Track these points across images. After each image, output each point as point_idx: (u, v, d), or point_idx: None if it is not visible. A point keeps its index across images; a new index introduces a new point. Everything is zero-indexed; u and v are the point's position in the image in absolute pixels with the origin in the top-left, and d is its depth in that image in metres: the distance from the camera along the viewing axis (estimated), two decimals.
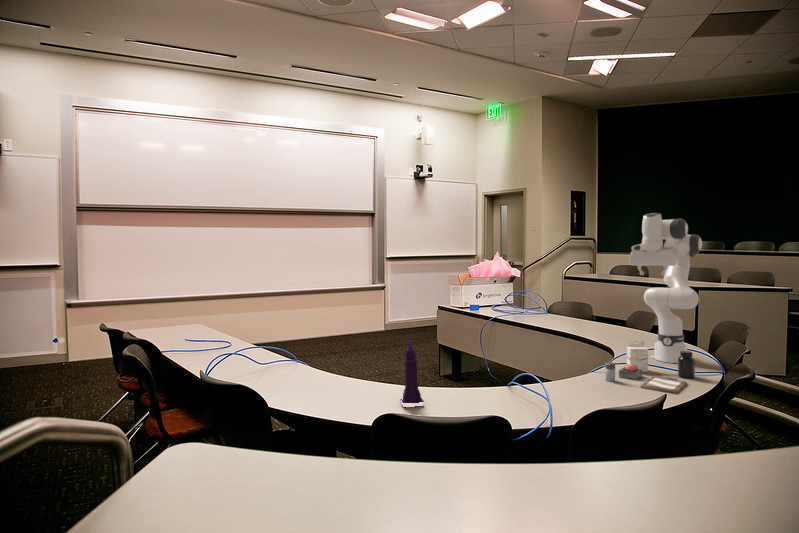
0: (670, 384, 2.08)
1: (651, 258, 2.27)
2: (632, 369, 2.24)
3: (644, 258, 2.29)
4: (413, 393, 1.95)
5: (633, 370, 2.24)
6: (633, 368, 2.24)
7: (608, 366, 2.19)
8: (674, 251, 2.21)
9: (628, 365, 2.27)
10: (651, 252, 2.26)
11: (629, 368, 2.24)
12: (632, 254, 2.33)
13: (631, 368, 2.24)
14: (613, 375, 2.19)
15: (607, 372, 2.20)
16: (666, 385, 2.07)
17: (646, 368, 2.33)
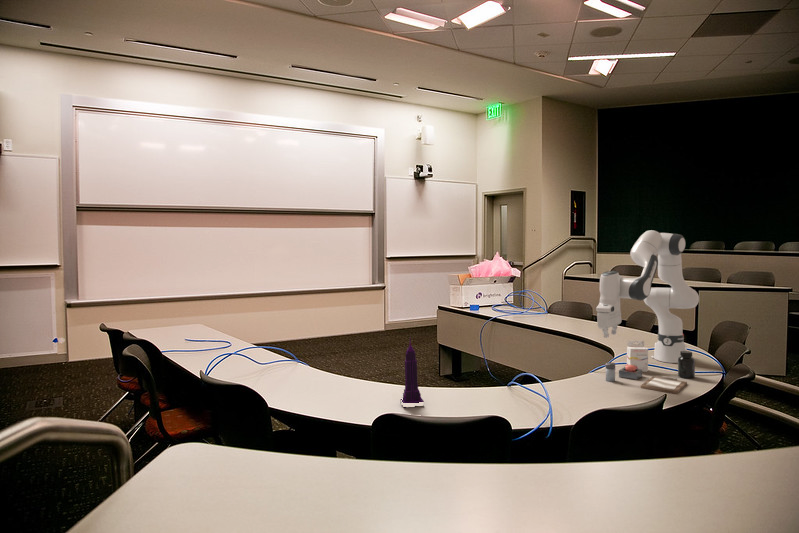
0: (670, 384, 2.08)
1: (614, 318, 2.18)
2: (632, 369, 2.24)
3: (611, 319, 2.16)
4: (413, 393, 1.95)
5: (633, 370, 2.24)
6: (633, 368, 2.24)
7: (608, 366, 2.19)
8: None
9: (628, 365, 2.27)
10: (617, 312, 2.17)
11: (629, 368, 2.24)
12: (608, 316, 2.12)
13: (631, 368, 2.24)
14: (613, 375, 2.19)
15: (607, 372, 2.20)
16: (666, 385, 2.07)
17: (646, 368, 2.33)
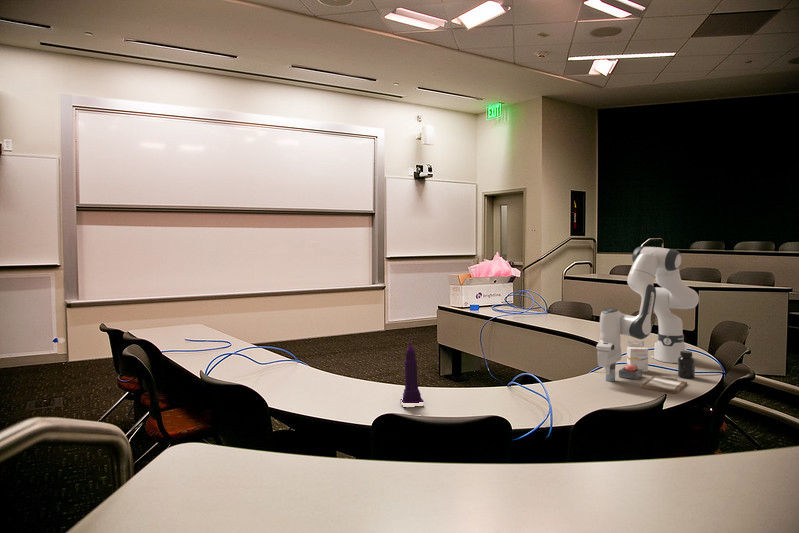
0: (670, 384, 2.08)
1: (614, 355, 2.19)
2: (632, 369, 2.24)
3: (611, 357, 2.17)
4: (413, 393, 1.95)
5: (633, 370, 2.24)
6: (633, 368, 2.24)
7: None
8: None
9: (628, 365, 2.27)
10: (617, 350, 2.18)
11: (629, 368, 2.24)
12: (608, 355, 2.13)
13: (631, 368, 2.24)
14: (613, 375, 2.19)
15: None
16: (666, 385, 2.07)
17: (646, 368, 2.33)
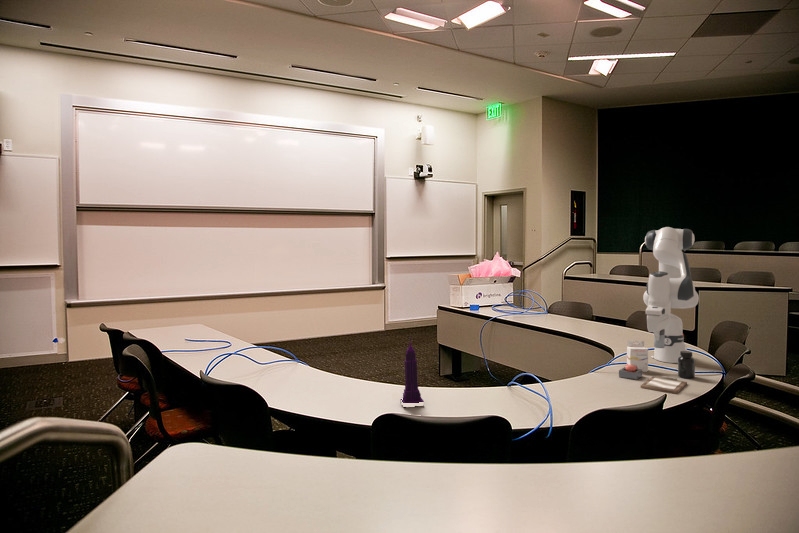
0: (670, 384, 2.08)
1: (663, 320, 2.09)
2: (632, 369, 2.24)
3: (661, 322, 2.07)
4: (413, 393, 1.95)
5: (633, 370, 2.24)
6: (633, 368, 2.24)
7: None
8: None
9: (628, 365, 2.27)
10: (667, 314, 2.08)
11: (629, 368, 2.24)
12: (659, 319, 2.02)
13: (631, 368, 2.24)
14: (662, 341, 2.09)
15: None
16: (666, 385, 2.07)
17: (646, 368, 2.33)
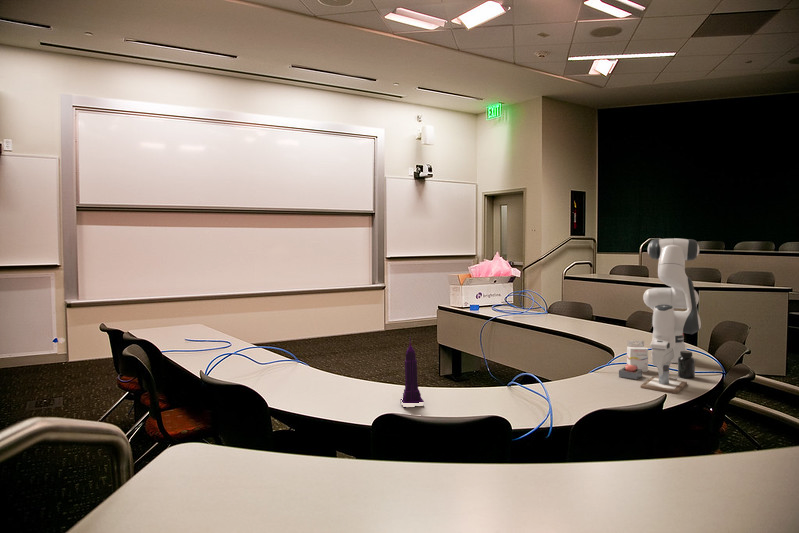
0: (670, 384, 2.08)
1: (668, 354, 2.09)
2: (632, 369, 2.24)
3: (666, 356, 2.07)
4: (413, 393, 1.95)
5: (633, 370, 2.24)
6: (633, 368, 2.24)
7: None
8: None
9: (628, 365, 2.27)
10: (671, 348, 2.08)
11: (629, 368, 2.24)
12: (664, 354, 2.02)
13: (631, 368, 2.24)
14: (667, 377, 2.08)
15: None
16: (666, 385, 2.07)
17: (646, 368, 2.33)
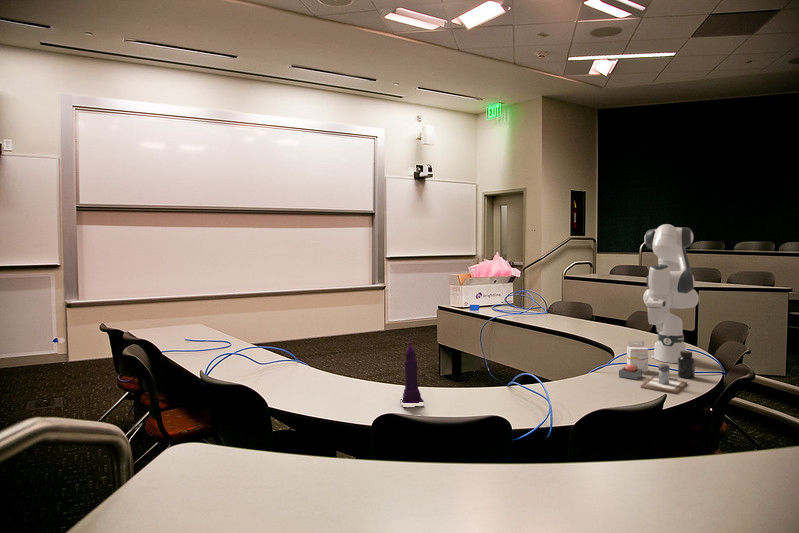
0: (670, 384, 2.08)
1: (664, 313, 2.10)
2: (632, 369, 2.24)
3: (661, 314, 2.08)
4: (413, 393, 1.95)
5: (633, 370, 2.24)
6: (633, 368, 2.24)
7: (662, 368, 2.09)
8: None
9: (628, 365, 2.27)
10: (667, 307, 2.09)
11: (629, 368, 2.24)
12: (660, 312, 2.03)
13: (631, 368, 2.24)
14: (667, 378, 2.08)
15: (660, 374, 2.09)
16: (666, 385, 2.07)
17: (646, 368, 2.33)
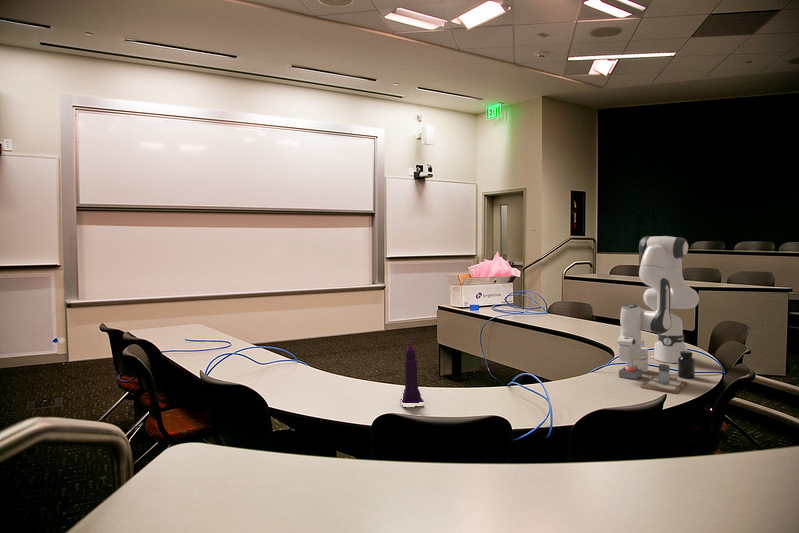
0: (670, 384, 2.08)
1: (634, 350, 2.24)
2: (632, 370, 2.24)
3: (632, 351, 2.22)
4: (413, 393, 1.95)
5: (633, 371, 2.24)
6: (633, 369, 2.24)
7: (662, 368, 2.09)
8: None
9: None
10: (637, 344, 2.23)
11: (629, 369, 2.24)
12: (629, 349, 2.18)
13: (631, 369, 2.24)
14: (667, 378, 2.08)
15: (660, 374, 2.10)
16: (666, 385, 2.07)
17: (646, 368, 2.33)
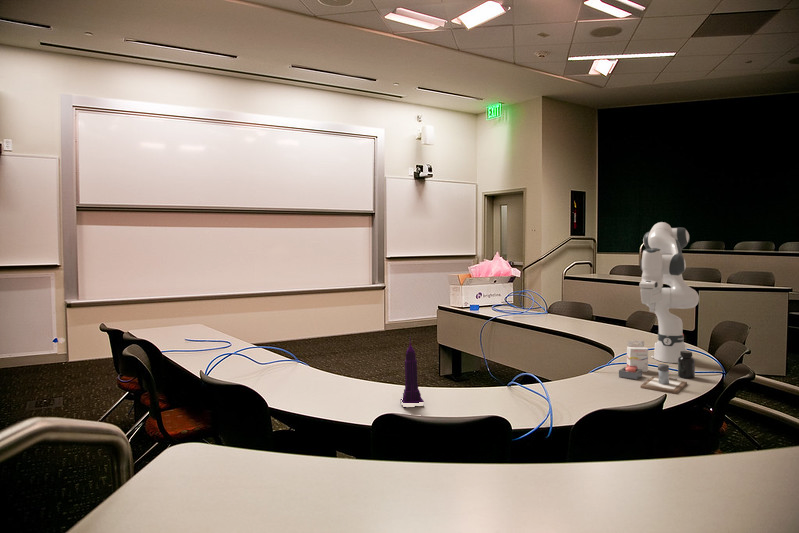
0: (670, 384, 2.08)
1: (656, 294, 2.22)
2: (632, 371, 2.24)
3: (654, 295, 2.19)
4: (413, 393, 1.95)
5: None
6: (633, 370, 2.24)
7: (660, 368, 2.09)
8: None
9: (628, 367, 2.27)
10: (659, 288, 2.21)
11: (629, 370, 2.24)
12: (652, 292, 2.15)
13: (631, 370, 2.24)
14: (666, 377, 2.08)
15: (660, 374, 2.10)
16: (666, 385, 2.07)
17: (646, 368, 2.33)
